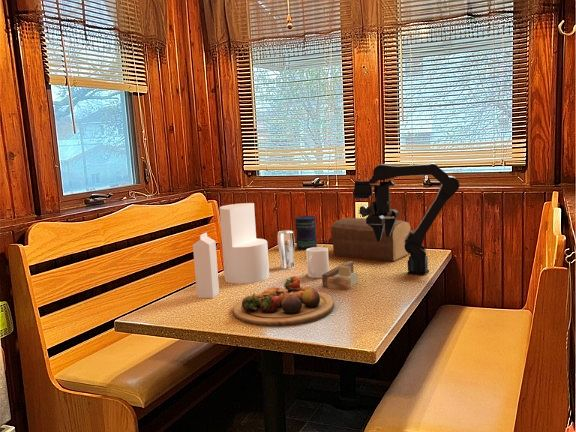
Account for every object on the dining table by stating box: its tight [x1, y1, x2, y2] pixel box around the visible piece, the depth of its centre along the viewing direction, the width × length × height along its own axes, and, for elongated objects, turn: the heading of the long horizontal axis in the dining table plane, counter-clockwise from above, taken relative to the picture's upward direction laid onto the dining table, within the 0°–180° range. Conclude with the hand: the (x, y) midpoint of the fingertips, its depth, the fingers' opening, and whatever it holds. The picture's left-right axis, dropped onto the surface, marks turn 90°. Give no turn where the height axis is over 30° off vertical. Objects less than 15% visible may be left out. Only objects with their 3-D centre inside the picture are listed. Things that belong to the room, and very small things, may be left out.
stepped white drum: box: [219, 202, 270, 285], centre depth 217 cm, size 17×17×28 cm
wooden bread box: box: [330, 217, 411, 262], centre depth 245 cm, size 18×30×16 cm, turn 54°
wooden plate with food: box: [232, 275, 335, 328], centre depth 177 cm, size 32×32×8 cm
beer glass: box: [277, 229, 296, 270], centre depth 230 cm, size 7×7×15 cm
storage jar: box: [294, 215, 318, 251], centre depth 266 cm, size 10×10×15 cm
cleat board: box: [321, 260, 355, 291], centre depth 206 cm, size 10×22×4 cm, turn 149°
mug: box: [305, 246, 330, 279], centre depth 214 cm, size 12×8×10 cm
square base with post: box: [333, 265, 358, 287], centre depth 202 cm, size 6×7×6 cm
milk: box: [192, 231, 220, 299], centre depth 196 cm, size 6×6×22 cm
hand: (383, 239), depth 213 cm, fingers open, 9 cm apart
